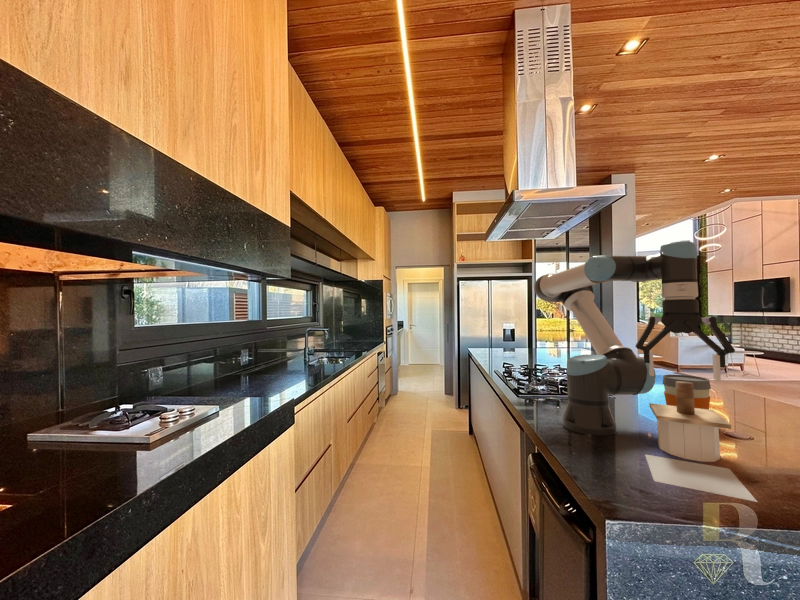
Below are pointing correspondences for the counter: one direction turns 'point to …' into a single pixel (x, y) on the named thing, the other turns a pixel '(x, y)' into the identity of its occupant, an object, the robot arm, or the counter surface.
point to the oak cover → (687, 409)
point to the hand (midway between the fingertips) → (682, 377)
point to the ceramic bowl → (689, 440)
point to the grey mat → (697, 477)
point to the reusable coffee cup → (699, 387)
